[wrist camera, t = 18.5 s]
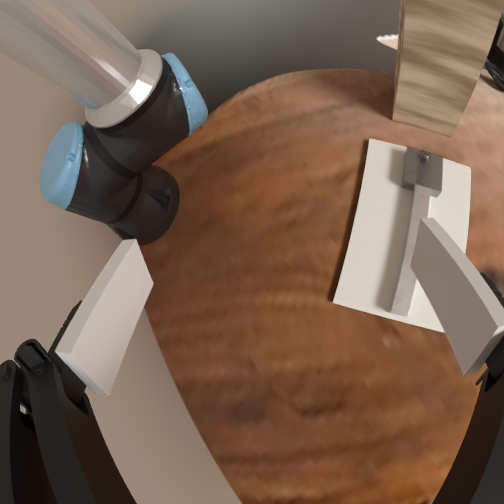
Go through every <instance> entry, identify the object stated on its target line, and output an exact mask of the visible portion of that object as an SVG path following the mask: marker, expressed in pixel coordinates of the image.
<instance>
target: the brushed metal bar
mask: <svg viewBox="0 0 504 504" xmlns="http://www.w3.org/2000/svg"><path fill="white" fill-rule="evenodd" d="M442 176H443V156H440V155H437V154H433V153H430V152H427V151H423V150H420V149H416V148H413V147H409V146H407V148H406V151H405V155H404V165H403V175H402V183H401V188H405V189H408V190H412V195H411V202H410V210H409V216H408V223H407V229H406V235H405V240H404V246H403V251H402V256H401V260H400V265H399V270H398V274H397V278H396V282H395V286H394V290H393V294H392V298H391V302H390V306H389V309H388V313H392V314H396V315H400V316H404V317H407V316H408V312H409V308H410V305H411V301H412V297H413V293H414V289H415V284H416V280H417V278H416V276H415V274H414V273H413V271H412V269H411V267H410V264H411V260H412V256H413V252H414V247H415V243H416V238H417V233H418V228H419V223H420V218H427V217H428V209H429V200H430V196H433V197H436V198H437V197H438V196H439V195H440V193H441V192H442Z"/></svg>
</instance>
